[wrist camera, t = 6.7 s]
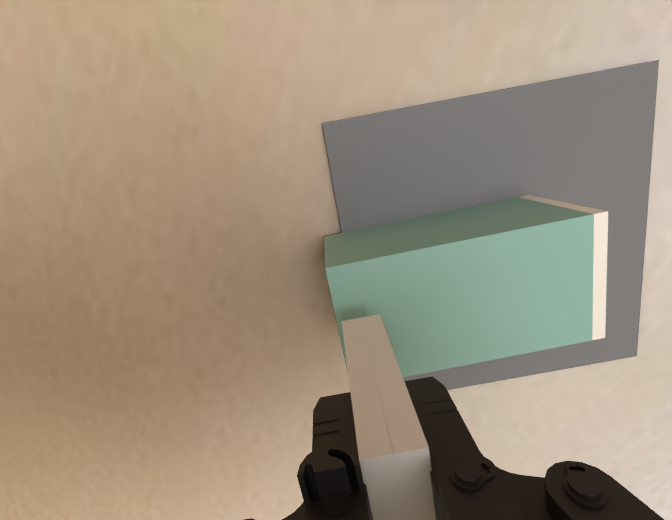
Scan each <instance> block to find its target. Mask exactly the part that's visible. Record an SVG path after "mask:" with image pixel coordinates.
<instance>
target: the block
mask: <svg viewBox="0 0 672 520" xmlns="http://www.w3.org/2000/svg"><path fill="white" fill-rule="evenodd" d="M607 244H608V211H605V210H600V209H595V208H590V207H585V206H580V205H575V204H570V203H565V202H560V201H555V200H550V199H546V198H541V197H536V196H531V195H526V196H521V197H516V198H511V199H506V200H501V201H496V202H491V203H486V204H481V205H476V206H472V207H467V208H462V209H457V210H452V211H447V212H442V213H437V214H432V215H427V216H422V217H417V218H412V219H407V220H403V221H398V222H393V223H388V224H383V225H378V226H373V227H368V228H363V229H358V230H353V231H348V232H343V233H338V234H333V235H329V236H324V256H325V271H326V275H327V280H328V284H329V289H330V293H331V298H332V303H333V307H334V312H335V316H336V321H337V326H338V330H339V335H340V339H341V344H342V349H343V353H344V358H345V362H346V367H347V360H346V353H345V345H344V337H343V329H342V321H345V320H351V319H356V318H362V317H367V316H373V315H378V314H380V316H381V319H382V322H383V325H384V327H385V330H386V333H387V335H388V338H389V341H390V344H391V346H392V349H393V352H394V354H395V357H396V360H397V363H398V365H399V368H400V371H401V373H402V376H403V377H408V376H413V375H418V374H423V373H428V372H433V371H438V370H444V369H449V368H454V367H459V366H464V365H469V364H474V363H479V362H484V361H490V360H495V359H500V358H505V357H510V356H515V355H520V354H525V353H530V352H535V351H541V350H546V349H551V348H556V347H561V346H566V345H571V344H576V343H581V342H587V341H592V340H597V339H602V338H605V326H606V285H607ZM347 372H348V368H347Z"/></svg>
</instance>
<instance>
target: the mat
mask: <svg viewBox="0 0 672 520" xmlns="http://www.w3.org/2000/svg"><path fill="white" fill-rule="evenodd" d="M658 65H659V60H657V61H651V62H646V63H641V64H635V65H630V66H625V67H619V68H614V69H609V70H603V71H598V72H593V73H587V74H582V75H577V76H571V77H566V78H561V79H555V80H550V81H545V82H539V83H534V84H529V85H523V86H518V87H513V88H508V89H502V90H497V91H492V92H486V93H481V94H476V95H470V96H465V97H460V98H454V99H449V100H444V101H438V102H433V103H428V104H422V105H417V106H412V107H406V108H401V109H396V110H390V111H385V112H380V113H374V114H369V115H364V116H359V117H353V118H348V119H343V120H337V121H332V122H327V123H322V126H323V131H324V137H325V143H326V148H327V154H328V160H329V165H330V171H331V176H332V182H333V188H334V193H335V199H336V204H337V210H338V216H339V221H340V227H341V232H342V233H343V232H348V231H353V230H358V229H363V228H368V227H373V226H378V225H383V224H388V223H393V222H398V221H403V220H407V219H412V218H417V217H422V216H427V215H432V214H437V213H442V212H447V211H452V210H457V209H462V208H467V207H472V206H476V205H481V204H486V203H491V202H496V201H501V200H506V199H511V198H516V197H521V196H526V195H531V196H536V197H541V198H546V199H550V200H555V201H560V202H565V203H570V204H575V205H580V206H585V207H590V208H595V209H600V210H605V211H608V244H607V285H606V326H605V338H602V339H597V340H592V341H587V342H581V343H576V344H571V345H566V346H561V347H556V348H551V349H546V350H541V351H535V352H530V353H525V354H520V355H515V356H510V357H505V358H500V359H495V360H490V361H484V362H479V363H474V364H469V365H464V366H459V367H454V368H449V369H444V370H438V371H433V372H428V373H423V374H418V375H413V376H408V377H403V379H404V381H409V380H415V379H420V378H426V377H431V376H433V377H434V378H435V379H437V380H438V381H439V382H441V383H442V384H443V385H445V387H446V389H447V390H450V389H456V388H461V387H467V386H472V385H478V384H484V383H489V382H495V381H500V380H506V379H511V378H517V377H523V376H528V375H534V374H539V373H545V372H550V371H556V370H562V369H567V368H573V367H578V366H584V365H589V364H595V363H601V362H606V361H612V360H617V359H623V358H629V357H634V356H637V345H638V332H639V319H640V305H641V292H642V279H643V265H644V252H645V238H646V225H647V212H648V198H649V185H650V172H651V158H652V145H653V131H654V118H655V105H656V91H657V78H658Z"/></svg>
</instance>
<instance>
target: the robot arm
mask: <svg viewBox="0 0 672 520" xmlns="http://www.w3.org/2000/svg"><path fill="white" fill-rule="evenodd" d="M342 329H343V337H344V345H345V353H346V360H347V368H348V376H349V384H350V392H349V393H343V394H337V395H332V396H326V397H321V398H320V399H319V401H318V403H317V404H316V406H315V408H314V410H313V442H312V452H311V453H310V454H308V455H307V456H306V458H305V459H304V460H303V462H302V463H301V464H300V467H299V470H298V474H297V477H298V481H299V485H300V488H301V492H302V496H303V499H304V502H303V503H302V505H301V506H300V507H299V508H298V509H297V510H296V511H295V512H294V513H292V514H291V515H289V516H288V517H286V518H284V519H282V520H664V519H663V518H661V517H660V516H659V515H658V514H656V513H655V512H654V511H653V510H652V509H650V508H649V507H648V506H647V505H645V504H644V503H643V502H642V501H640V500H639V499H638V498H637V497H635V496H634V495H633V494H632V493H631V492H629V491H628V490H627V489H626V488H624V487H623V486H622V485H621V484H619V483H618V482H617V481H616V480H614V479H613V478H612V477H611V476H609V475H607V474H606V473H604V472H603V471H601V470H600V469H598V468H596V467H593V466H590V465H588V464H585V463H582V462H574V461H564V462H560V463H555V464H554V465H553V466H551V467H550V468H549V469H548V470H547V473H546V476H545V478H542V477H533V476H524V475H518V474H513V473H509V472H506V471H504V470H501V469H499V468H498V467H496V466H495V465H494V464H493V463H492V461H490V460H489V459H487V458H485V457H484V456H483V455H482V454H481V452H480V451H479V449H478V447H477V445H476V443H475V442H474V440H473V438H472V436H471V434H470V432H469V430H468V429H467V427H466V425H465V423H464V421H463V419H462V417H461V415H460V414H459V412H458V411H457V408H456V406H455V404H454V402H453V400H451V397H450V395H449V393H448V391H447V389H446V387H445V385H443V384H442V383H441V382H439V381H438V380H437V379H435V378H434V377H433V376H431V377H426V378H420V379H415V380H409V381H404V379H403V376H402V373H401V371H400V368H399V365H398V363H397V360H396V357H395V354H394V352H393V349H392V346H391V344H390V341H389V338H388V335H387V333H386V330H385V327H384V325H383V322H382V319H381V316H380V314H378V315H373V316H367V317H362V318H356V319H351V320H345V321H342ZM245 520H254V519H245Z"/></svg>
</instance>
